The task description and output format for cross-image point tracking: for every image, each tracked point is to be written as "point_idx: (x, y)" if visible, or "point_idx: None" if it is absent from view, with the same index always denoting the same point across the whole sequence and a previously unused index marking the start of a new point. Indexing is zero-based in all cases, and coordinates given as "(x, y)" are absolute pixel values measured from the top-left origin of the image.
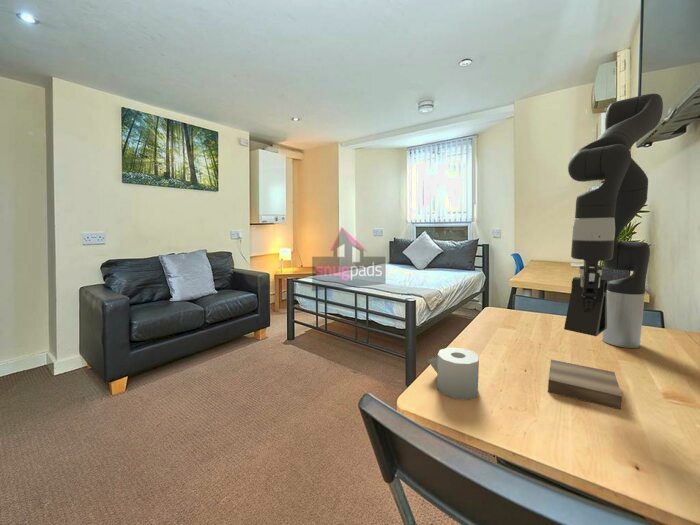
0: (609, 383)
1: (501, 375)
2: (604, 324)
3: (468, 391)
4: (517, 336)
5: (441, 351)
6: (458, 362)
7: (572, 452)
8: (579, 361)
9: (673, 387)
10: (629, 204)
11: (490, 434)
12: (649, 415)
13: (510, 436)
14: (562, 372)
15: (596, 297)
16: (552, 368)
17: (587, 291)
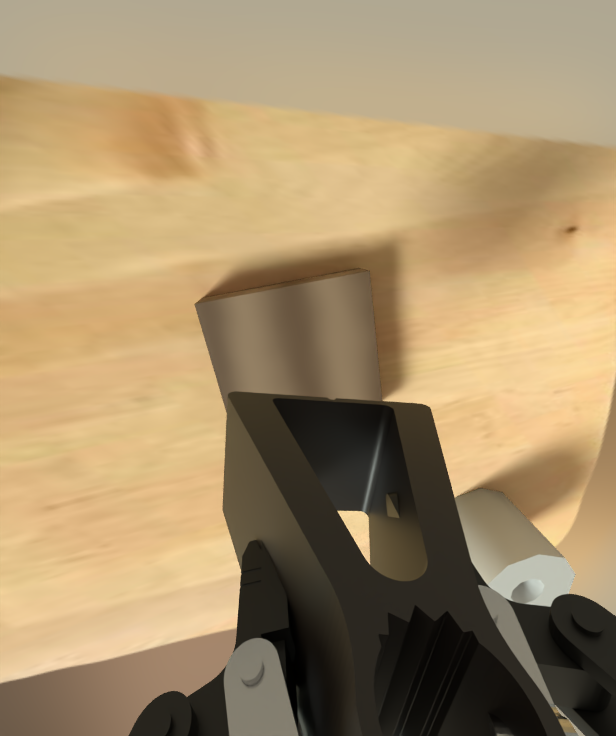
0: (301, 305)
1: None
2: (274, 410)
3: (514, 505)
4: (40, 567)
5: None
6: (567, 573)
7: (577, 321)
8: (99, 395)
9: (71, 143)
10: None
11: (587, 427)
12: (342, 211)
13: (578, 404)
14: None
15: (580, 597)
16: None
17: (606, 704)
